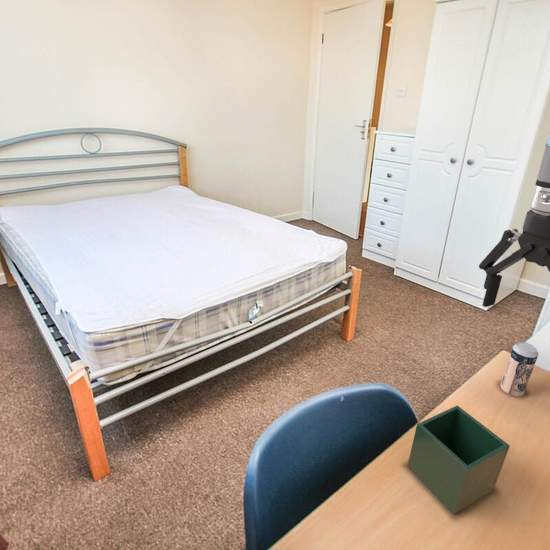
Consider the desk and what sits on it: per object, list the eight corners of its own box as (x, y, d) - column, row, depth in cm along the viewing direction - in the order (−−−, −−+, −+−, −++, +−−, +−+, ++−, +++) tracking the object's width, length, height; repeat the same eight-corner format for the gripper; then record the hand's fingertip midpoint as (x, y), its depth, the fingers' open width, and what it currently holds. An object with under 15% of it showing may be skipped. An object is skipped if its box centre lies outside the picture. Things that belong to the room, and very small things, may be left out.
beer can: (513, 400, 84) (529, 355, 79) (494, 387, 88) (509, 343, 83) (528, 394, 86) (544, 350, 81) (509, 381, 90) (523, 339, 85)
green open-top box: (445, 448, 72) (457, 405, 67) (492, 491, 64) (510, 445, 60) (406, 468, 68) (417, 423, 63) (452, 517, 60) (468, 469, 55)
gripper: (475, 199, 74) (453, 296, 82) (629, 235, 53) (578, 361, 62) (501, 195, 77) (477, 290, 85) (656, 229, 56) (604, 350, 64)
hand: (519, 320), depth 73 cm, fingers open, 13 cm apart
